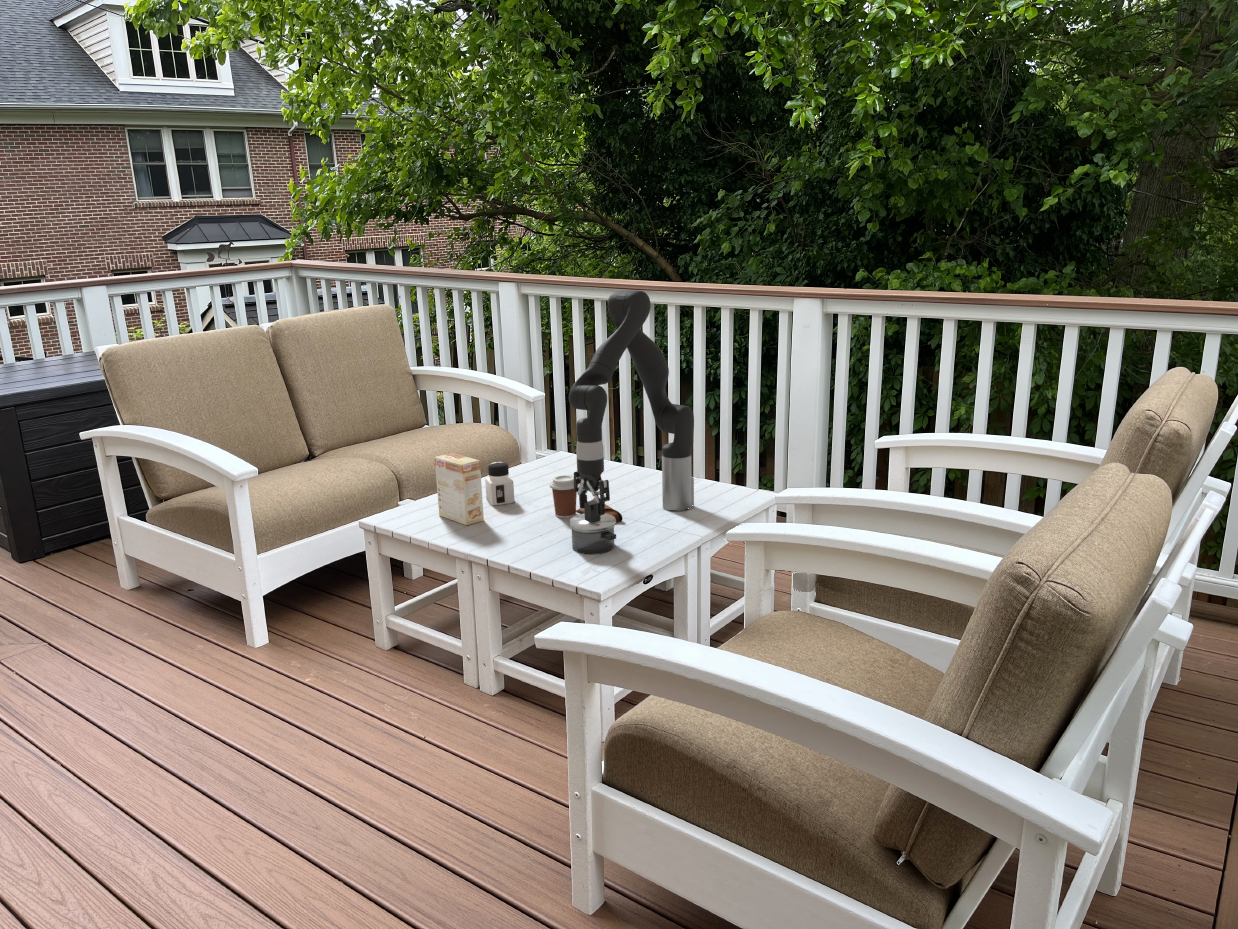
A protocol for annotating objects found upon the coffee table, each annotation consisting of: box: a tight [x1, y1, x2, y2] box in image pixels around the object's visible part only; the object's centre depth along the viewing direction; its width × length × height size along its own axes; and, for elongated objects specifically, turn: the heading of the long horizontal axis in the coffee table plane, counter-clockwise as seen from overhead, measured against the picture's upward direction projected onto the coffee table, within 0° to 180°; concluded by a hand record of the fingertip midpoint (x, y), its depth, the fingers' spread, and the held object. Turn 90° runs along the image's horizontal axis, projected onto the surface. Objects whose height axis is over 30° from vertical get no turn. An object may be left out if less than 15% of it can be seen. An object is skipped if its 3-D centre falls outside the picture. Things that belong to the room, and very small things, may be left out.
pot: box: [569, 524, 617, 555], centre depth 269 cm, size 13×19×7 cm, turn 36°
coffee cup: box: [549, 474, 579, 519], centre depth 296 cm, size 9×9×12 cm
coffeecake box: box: [434, 452, 485, 526], centre depth 295 cm, size 15×7×20 cm, turn 44°
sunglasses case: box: [576, 497, 623, 523], centre depth 296 cm, size 18×7×7 cm
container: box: [484, 461, 516, 507], centre depth 311 cm, size 8×8×13 cm
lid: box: [569, 499, 616, 531], centre depth 267 cm, size 13×13×6 cm
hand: (592, 511), depth 267 cm, fingers open, 8 cm apart
